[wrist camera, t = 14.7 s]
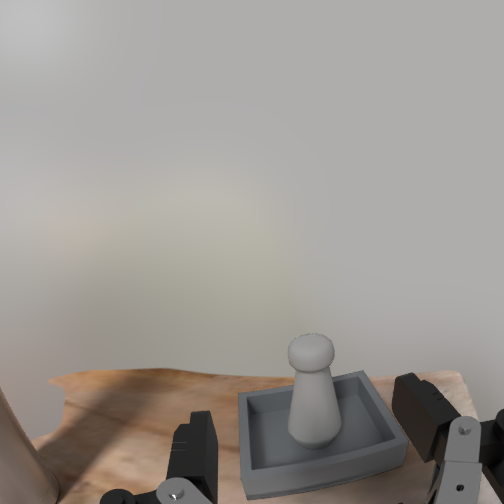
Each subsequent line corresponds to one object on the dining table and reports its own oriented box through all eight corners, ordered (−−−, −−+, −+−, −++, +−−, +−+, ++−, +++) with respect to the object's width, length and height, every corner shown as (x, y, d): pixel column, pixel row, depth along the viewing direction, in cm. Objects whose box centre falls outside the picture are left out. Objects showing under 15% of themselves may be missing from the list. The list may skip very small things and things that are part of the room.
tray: (247, 500, 24) (240, 478, 23) (243, 416, 38) (238, 393, 37) (402, 465, 25) (408, 441, 24) (362, 393, 38) (363, 370, 38)
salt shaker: (284, 454, 29) (271, 356, 26) (293, 420, 34) (283, 327, 32) (339, 456, 27) (340, 356, 25) (342, 421, 33) (342, 325, 30)
